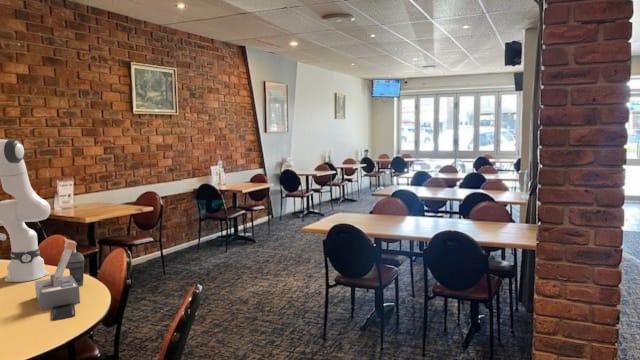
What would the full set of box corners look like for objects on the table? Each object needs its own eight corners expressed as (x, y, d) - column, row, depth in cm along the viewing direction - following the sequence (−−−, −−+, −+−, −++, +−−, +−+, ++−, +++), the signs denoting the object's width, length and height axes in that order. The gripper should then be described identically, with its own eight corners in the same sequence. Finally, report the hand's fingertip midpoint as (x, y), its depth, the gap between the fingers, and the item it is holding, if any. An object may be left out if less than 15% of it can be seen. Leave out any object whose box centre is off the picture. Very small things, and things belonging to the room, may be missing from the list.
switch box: (36, 297, 202) (34, 274, 201) (72, 290, 210) (71, 268, 209) (40, 310, 186) (38, 286, 185) (80, 302, 194) (78, 279, 193)
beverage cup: (79, 288, 213) (75, 244, 212) (65, 287, 215) (61, 244, 213) (89, 283, 221) (86, 241, 219) (76, 282, 222) (73, 241, 220)
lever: (50, 279, 200) (66, 238, 202) (58, 281, 201) (74, 240, 204) (52, 284, 193) (69, 242, 196) (60, 285, 195) (77, 244, 198)
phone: (74, 303, 192) (75, 314, 179) (74, 305, 192) (75, 317, 179) (52, 306, 188) (51, 319, 175) (52, 309, 188) (51, 321, 175)
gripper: (-30, 231, 173) (12, 238, 182) (-36, 216, 188) (4, 222, 197) (-36, 247, 173) (7, 253, 182) (-41, 231, 188) (-1, 237, 197)
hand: (5, 237), depth 190 cm, fingers closed
